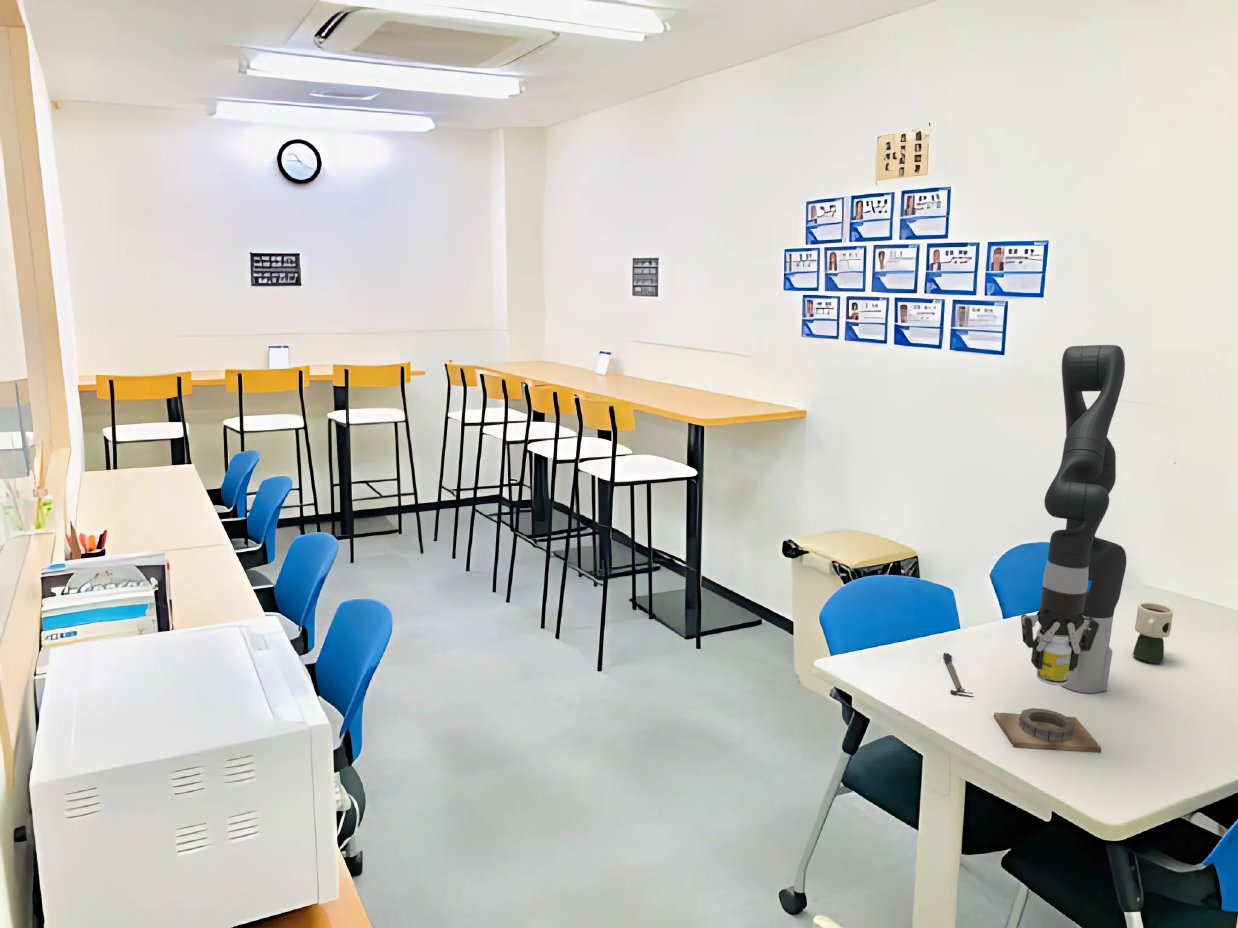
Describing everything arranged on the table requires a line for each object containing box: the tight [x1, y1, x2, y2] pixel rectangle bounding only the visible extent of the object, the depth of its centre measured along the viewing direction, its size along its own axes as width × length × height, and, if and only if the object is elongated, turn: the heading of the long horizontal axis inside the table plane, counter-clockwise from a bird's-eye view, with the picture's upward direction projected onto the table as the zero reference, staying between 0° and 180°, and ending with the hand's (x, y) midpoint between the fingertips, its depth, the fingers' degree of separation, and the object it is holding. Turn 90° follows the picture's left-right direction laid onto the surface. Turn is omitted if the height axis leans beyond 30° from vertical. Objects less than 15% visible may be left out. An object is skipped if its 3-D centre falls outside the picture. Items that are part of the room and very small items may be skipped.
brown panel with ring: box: [993, 707, 1102, 753], centre depth 180 cm, size 16×12×3 cm
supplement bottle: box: [1036, 635, 1072, 686], centre depth 177 cm, size 5×5×10 cm
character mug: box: [1132, 602, 1174, 664], centre depth 215 cm, size 11×7×13 cm, turn 142°
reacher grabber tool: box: [943, 652, 975, 698], centre depth 205 cm, size 21×7×1 cm, turn 167°
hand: (1053, 668), depth 178 cm, fingers closed on supplement bottle, 5 cm apart
